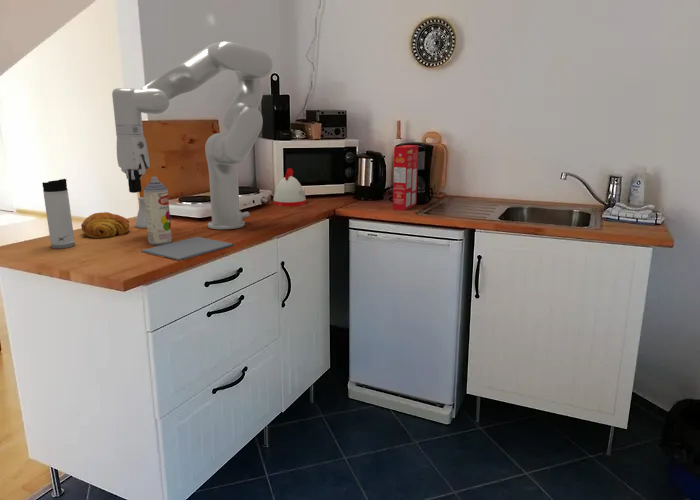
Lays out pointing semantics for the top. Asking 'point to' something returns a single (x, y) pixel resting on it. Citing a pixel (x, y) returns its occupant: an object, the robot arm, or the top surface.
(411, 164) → the food packaging
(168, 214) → the aerosol can
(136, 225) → the flask
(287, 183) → the kitchen timer
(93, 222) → the croissant
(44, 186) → the travel mug
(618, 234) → the top surface
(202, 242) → the mat
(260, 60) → the robot arm
